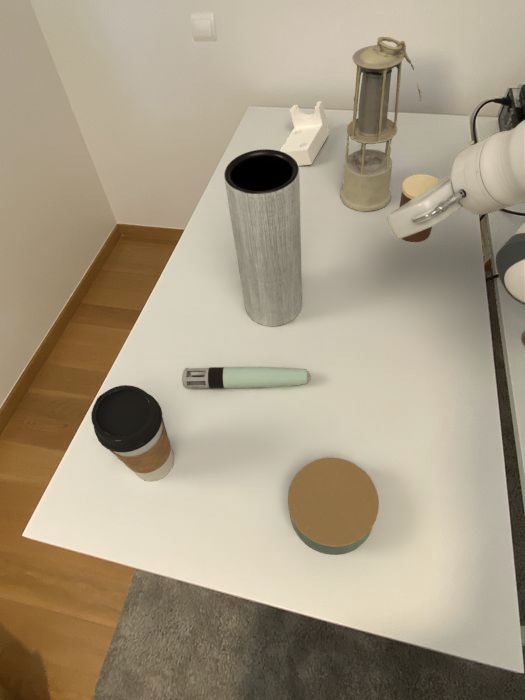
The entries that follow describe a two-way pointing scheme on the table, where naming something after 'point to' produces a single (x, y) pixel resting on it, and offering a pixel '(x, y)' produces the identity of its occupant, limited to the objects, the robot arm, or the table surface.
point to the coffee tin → (332, 505)
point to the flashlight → (245, 377)
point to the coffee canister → (411, 190)
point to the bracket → (306, 134)
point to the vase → (267, 233)
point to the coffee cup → (134, 431)
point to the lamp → (372, 126)
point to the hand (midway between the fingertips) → (414, 205)
